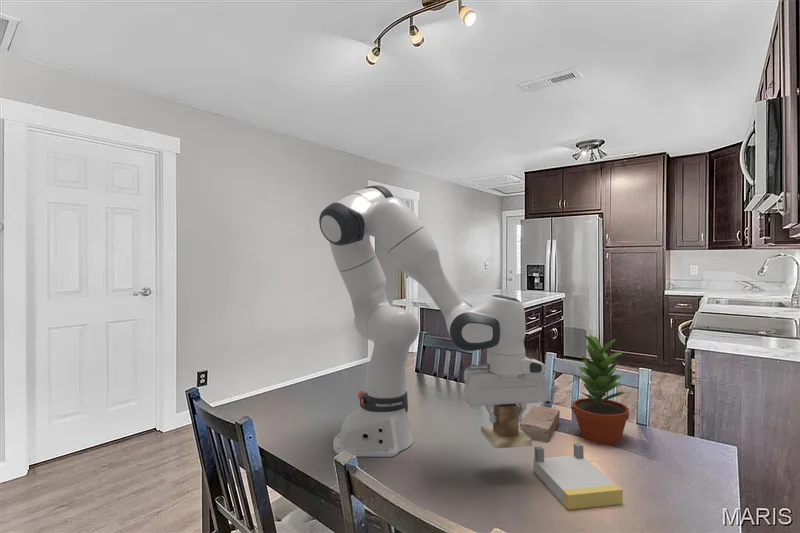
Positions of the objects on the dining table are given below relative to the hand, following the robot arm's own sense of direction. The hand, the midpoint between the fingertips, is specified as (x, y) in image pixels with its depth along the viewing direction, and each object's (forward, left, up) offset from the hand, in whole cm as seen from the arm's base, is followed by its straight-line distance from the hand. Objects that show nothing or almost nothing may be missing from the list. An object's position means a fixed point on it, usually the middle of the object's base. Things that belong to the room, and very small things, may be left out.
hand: (505, 421), depth 102 cm
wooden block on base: (0, 0, -4) cm, 4 cm away
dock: (+13, -8, -13) cm, 20 cm away
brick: (+20, +23, -13) cm, 33 cm away
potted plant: (+34, +15, -13) cm, 39 cm away
